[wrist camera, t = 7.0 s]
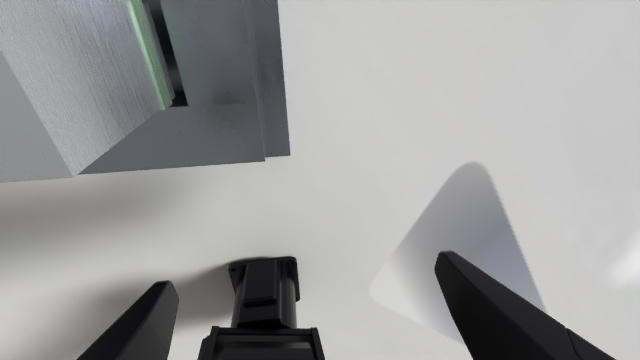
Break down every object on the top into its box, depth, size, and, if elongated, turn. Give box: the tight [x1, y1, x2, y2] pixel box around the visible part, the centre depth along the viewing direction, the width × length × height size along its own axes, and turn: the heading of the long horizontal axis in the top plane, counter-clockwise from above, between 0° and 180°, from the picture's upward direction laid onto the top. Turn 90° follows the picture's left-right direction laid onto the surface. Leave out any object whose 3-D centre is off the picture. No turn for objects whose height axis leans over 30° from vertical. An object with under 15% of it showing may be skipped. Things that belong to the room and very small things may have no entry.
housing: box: [77, 0, 290, 175], centre depth 14 cm, size 15×15×5 cm
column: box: [0, 0, 175, 183], centre depth 9 cm, size 4×4×8 cm
